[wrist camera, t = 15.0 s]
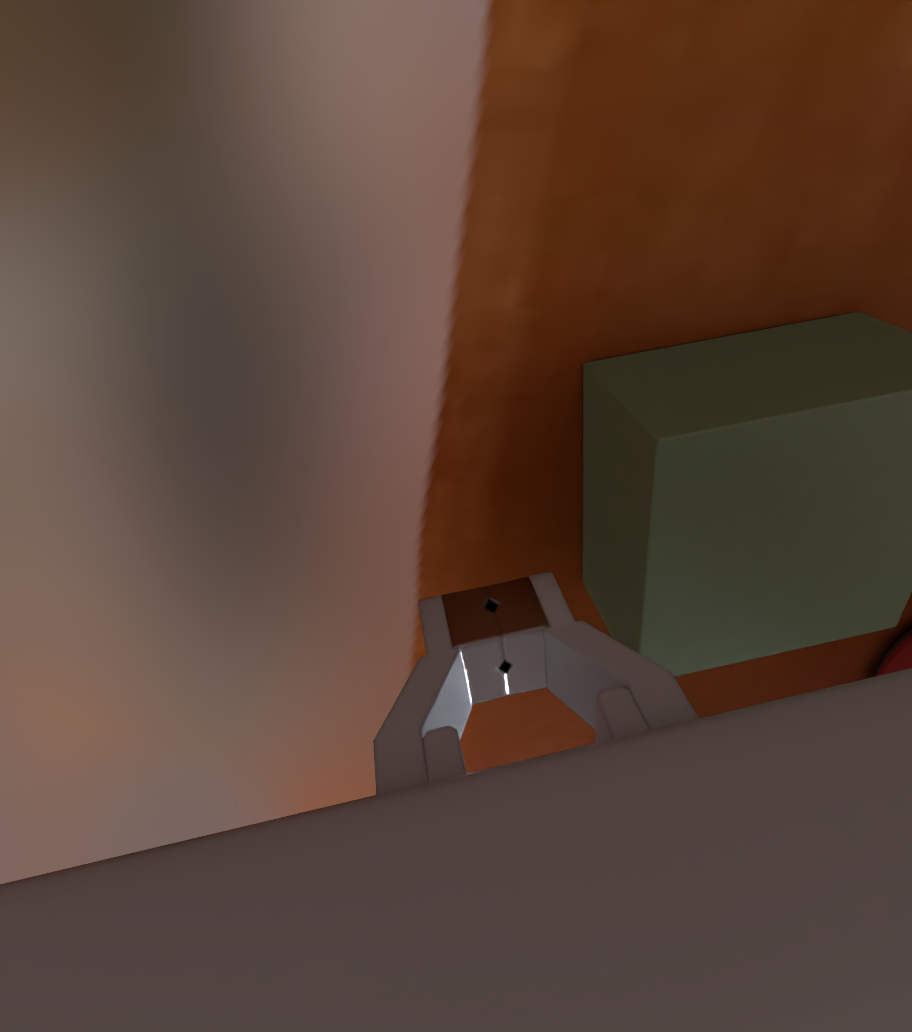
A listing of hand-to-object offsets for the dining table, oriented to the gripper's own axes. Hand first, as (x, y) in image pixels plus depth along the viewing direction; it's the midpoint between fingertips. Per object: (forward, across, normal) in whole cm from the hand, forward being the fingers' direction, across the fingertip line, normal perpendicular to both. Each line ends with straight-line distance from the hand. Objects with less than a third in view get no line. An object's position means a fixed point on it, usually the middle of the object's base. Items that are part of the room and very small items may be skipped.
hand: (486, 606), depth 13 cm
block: (+3, -7, 0) cm, 8 cm away
